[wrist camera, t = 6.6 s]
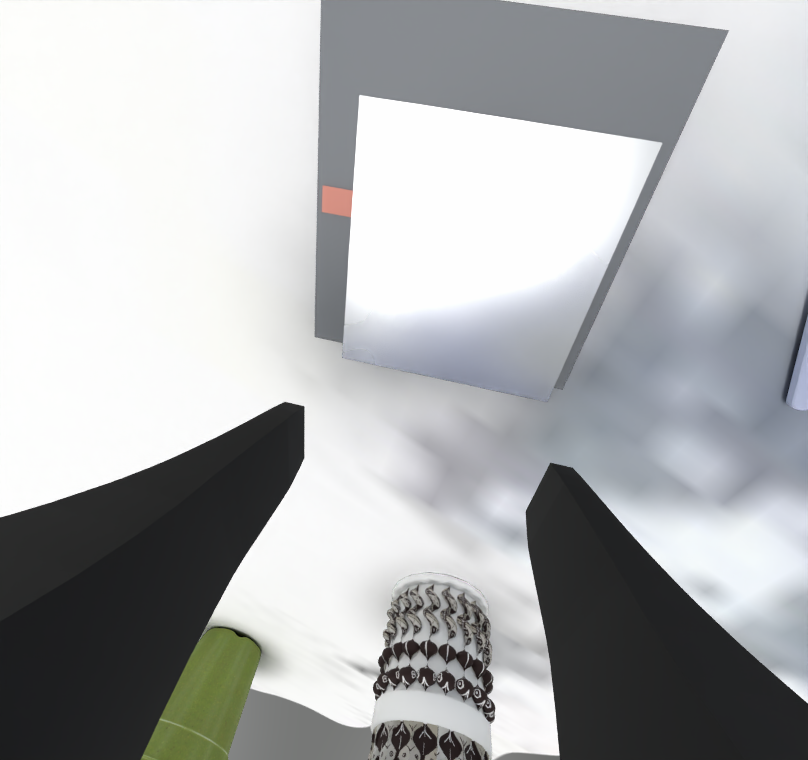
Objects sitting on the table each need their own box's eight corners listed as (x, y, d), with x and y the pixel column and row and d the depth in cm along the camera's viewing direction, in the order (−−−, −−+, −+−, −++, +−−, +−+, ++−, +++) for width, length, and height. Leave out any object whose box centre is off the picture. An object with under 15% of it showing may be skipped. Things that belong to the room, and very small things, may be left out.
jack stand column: (531, 183, 9) (665, 141, 3) (500, 288, 11) (548, 403, 5) (428, 166, 10) (357, 92, 3) (411, 271, 11) (340, 358, 5)
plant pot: (220, 604, 36) (128, 755, 26) (298, 657, 39) (242, 809, 29) (171, 626, 41) (79, 758, 31) (244, 671, 44) (181, 805, 34)
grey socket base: (708, 44, 11) (849, -50, 7) (557, 380, 17) (585, 433, 13) (332, -7, 12) (263, -116, 8) (321, 330, 18) (281, 366, 14)
